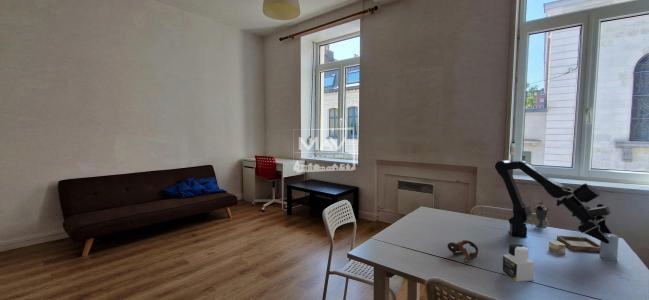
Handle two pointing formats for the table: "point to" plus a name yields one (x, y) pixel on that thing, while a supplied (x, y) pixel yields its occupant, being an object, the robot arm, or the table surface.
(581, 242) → the tray
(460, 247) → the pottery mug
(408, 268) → the table surface
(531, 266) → the white stepped box
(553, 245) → the beech cube
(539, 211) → the sundae
